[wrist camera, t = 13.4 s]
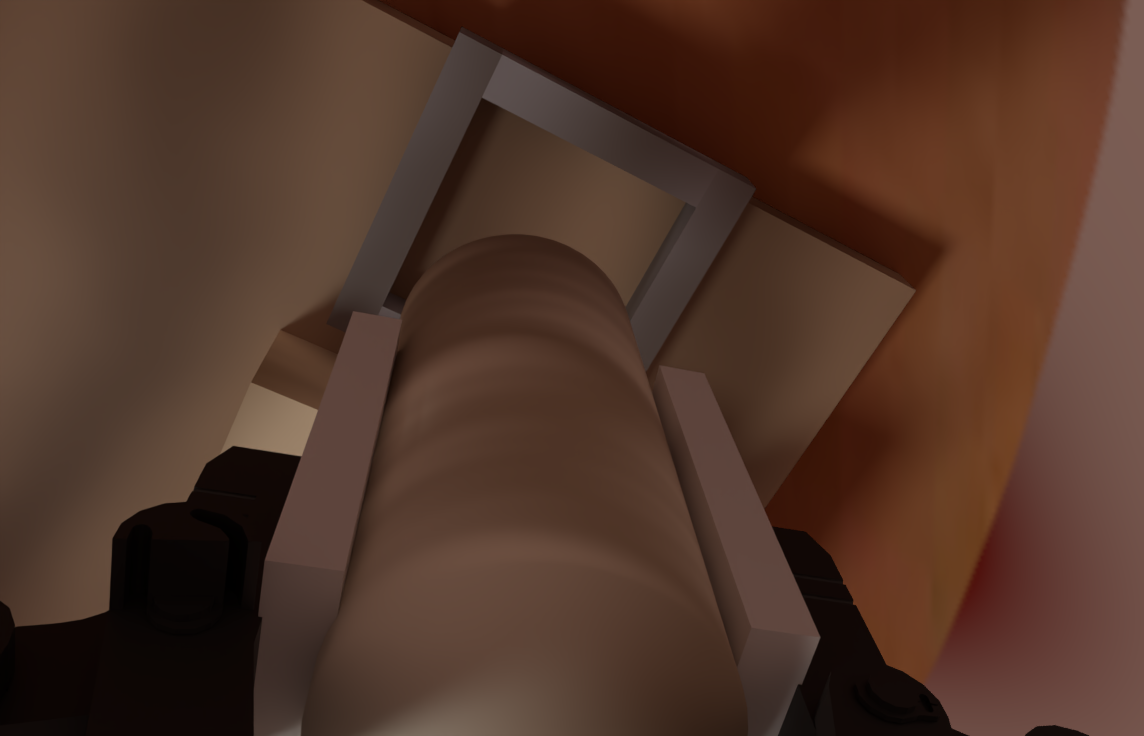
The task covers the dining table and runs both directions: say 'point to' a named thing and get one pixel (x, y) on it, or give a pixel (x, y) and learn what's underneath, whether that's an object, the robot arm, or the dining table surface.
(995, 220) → the dining table surface
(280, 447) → the thin beige square tile
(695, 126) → the dining table surface
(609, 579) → the dowel
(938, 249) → the dining table surface
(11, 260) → the board
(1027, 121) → the dining table surface
